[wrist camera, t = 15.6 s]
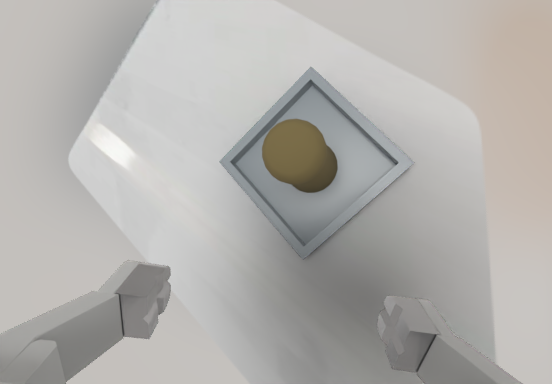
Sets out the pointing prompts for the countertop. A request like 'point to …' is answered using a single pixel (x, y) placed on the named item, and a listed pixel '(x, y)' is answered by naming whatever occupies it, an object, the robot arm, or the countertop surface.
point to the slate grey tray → (350, 160)
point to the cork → (299, 156)
